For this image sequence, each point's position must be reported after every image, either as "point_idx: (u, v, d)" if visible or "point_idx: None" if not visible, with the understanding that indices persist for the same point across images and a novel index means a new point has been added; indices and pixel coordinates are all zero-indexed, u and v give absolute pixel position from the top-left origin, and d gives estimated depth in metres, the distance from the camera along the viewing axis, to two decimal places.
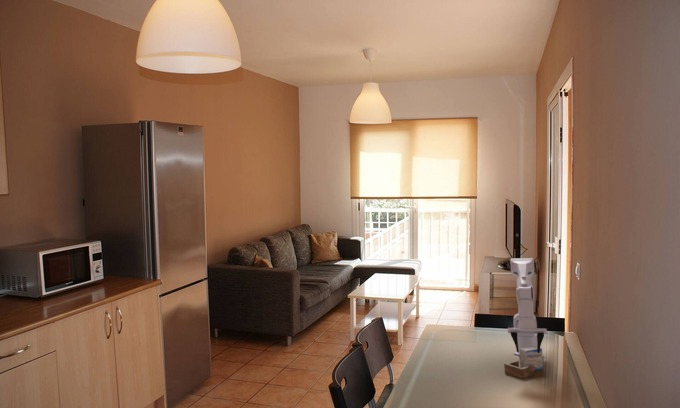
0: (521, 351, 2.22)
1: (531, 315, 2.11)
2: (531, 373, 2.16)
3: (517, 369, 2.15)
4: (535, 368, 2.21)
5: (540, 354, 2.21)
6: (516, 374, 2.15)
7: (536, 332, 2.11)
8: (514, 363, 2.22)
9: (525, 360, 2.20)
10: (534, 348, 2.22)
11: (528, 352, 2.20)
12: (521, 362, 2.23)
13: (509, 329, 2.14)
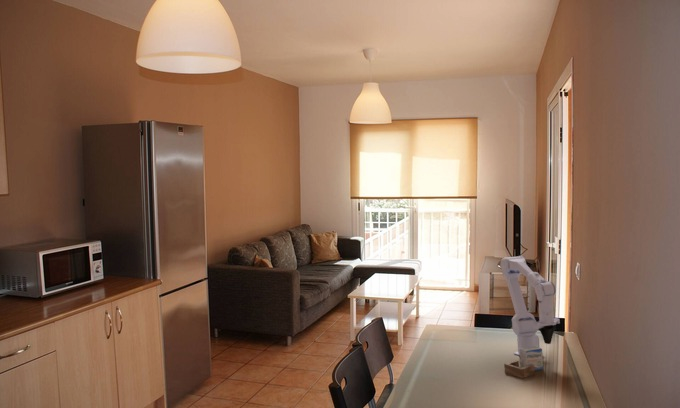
0: (521, 351, 2.22)
1: None
2: (531, 373, 2.16)
3: (517, 369, 2.15)
4: (535, 368, 2.21)
5: (540, 354, 2.21)
6: (516, 374, 2.15)
7: None
8: (514, 363, 2.22)
9: (525, 360, 2.20)
10: (534, 348, 2.22)
11: (528, 352, 2.20)
12: (521, 362, 2.23)
13: (538, 325, 2.21)
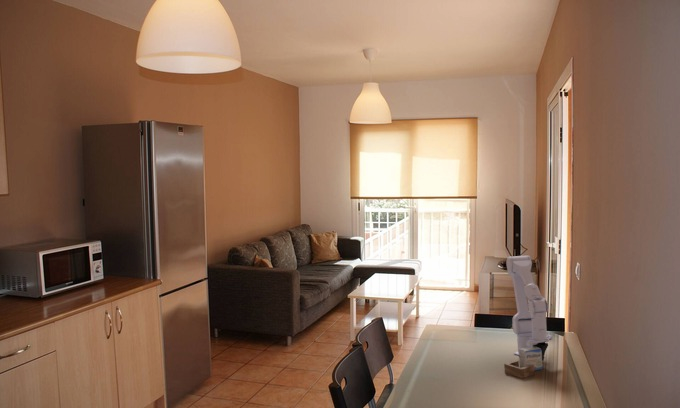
0: (520, 351, 2.22)
1: (545, 326, 2.23)
2: (531, 373, 2.16)
3: (517, 369, 2.15)
4: (534, 368, 2.20)
5: (539, 354, 2.21)
6: (516, 374, 2.15)
7: None
8: (514, 363, 2.22)
9: (524, 360, 2.20)
10: (533, 348, 2.22)
11: (528, 352, 2.20)
12: (520, 362, 2.23)
13: (531, 342, 2.21)
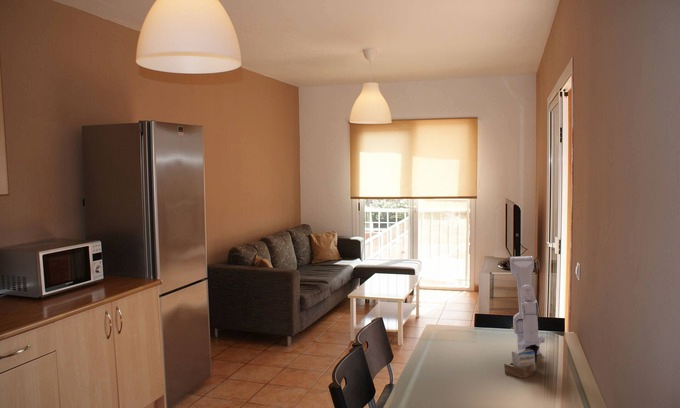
0: (513, 354, 2.19)
1: (536, 329, 2.20)
2: (531, 373, 2.16)
3: (517, 369, 2.15)
4: None
5: (532, 356, 2.19)
6: (516, 374, 2.15)
7: None
8: None
9: (517, 363, 2.17)
10: (526, 350, 2.20)
11: (520, 354, 2.17)
12: (513, 365, 2.20)
13: (522, 345, 2.18)
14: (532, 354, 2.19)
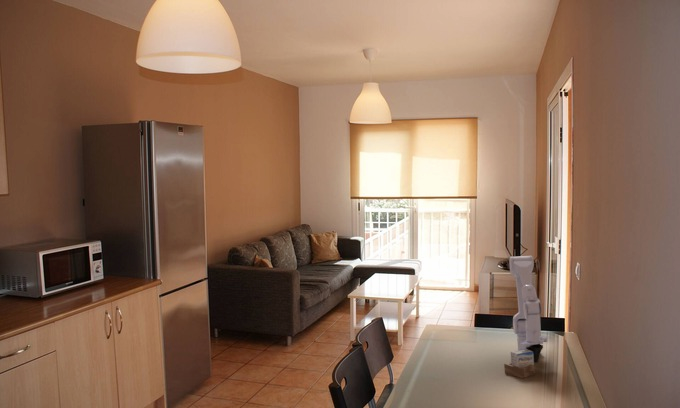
0: (512, 354, 2.19)
1: (539, 329, 2.21)
2: (531, 373, 2.16)
3: (517, 369, 2.15)
4: None
5: (531, 357, 2.18)
6: (516, 374, 2.15)
7: None
8: None
9: (516, 363, 2.17)
10: (525, 351, 2.19)
11: (519, 355, 2.17)
12: None
13: (525, 344, 2.19)
14: (531, 355, 2.18)
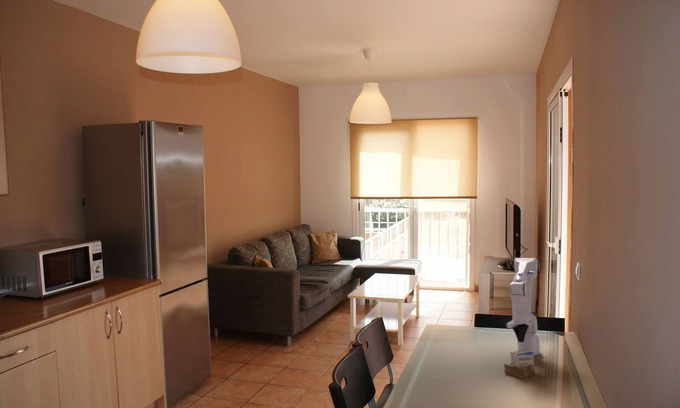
0: (512, 354, 2.19)
1: (523, 309, 2.27)
2: (531, 373, 2.16)
3: (517, 369, 2.15)
4: None
5: (531, 357, 2.18)
6: (516, 374, 2.15)
7: None
8: None
9: (516, 363, 2.17)
10: (525, 351, 2.19)
11: (519, 355, 2.17)
12: None
13: (511, 324, 2.25)
14: (531, 355, 2.18)
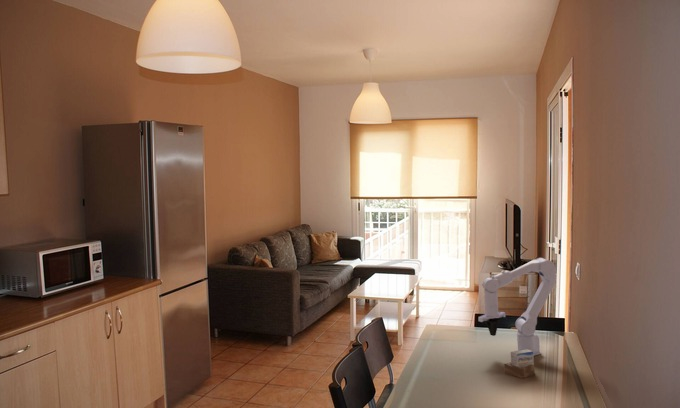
0: (512, 354, 2.19)
1: (487, 304, 2.40)
2: (531, 373, 2.16)
3: (517, 369, 2.15)
4: None
5: (531, 357, 2.18)
6: (516, 374, 2.15)
7: None
8: None
9: (516, 363, 2.17)
10: (525, 351, 2.19)
11: (519, 355, 2.17)
12: None
13: (482, 318, 2.38)
14: (531, 355, 2.18)
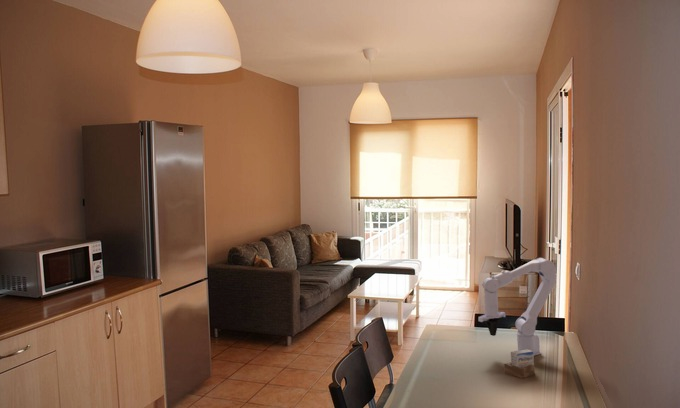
0: (512, 354, 2.19)
1: (487, 304, 2.40)
2: (531, 373, 2.16)
3: (517, 369, 2.15)
4: None
5: (531, 357, 2.18)
6: (516, 374, 2.15)
7: None
8: None
9: (516, 363, 2.17)
10: (525, 351, 2.19)
11: (519, 355, 2.17)
12: None
13: (482, 318, 2.38)
14: (531, 355, 2.18)
